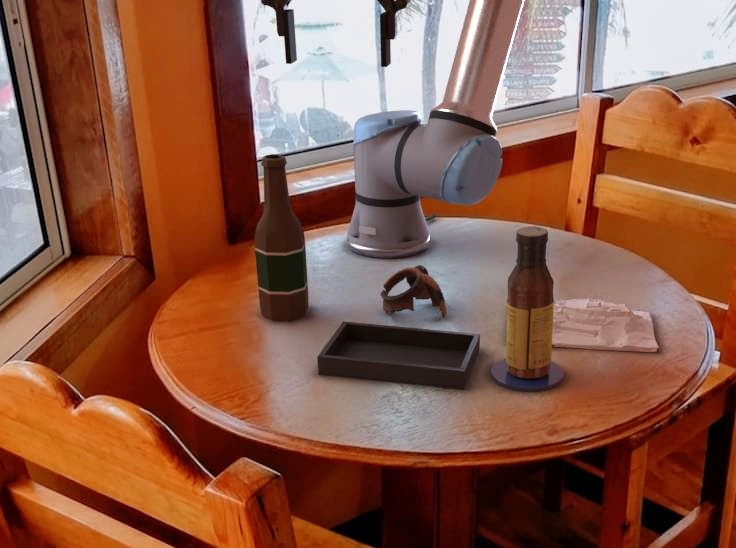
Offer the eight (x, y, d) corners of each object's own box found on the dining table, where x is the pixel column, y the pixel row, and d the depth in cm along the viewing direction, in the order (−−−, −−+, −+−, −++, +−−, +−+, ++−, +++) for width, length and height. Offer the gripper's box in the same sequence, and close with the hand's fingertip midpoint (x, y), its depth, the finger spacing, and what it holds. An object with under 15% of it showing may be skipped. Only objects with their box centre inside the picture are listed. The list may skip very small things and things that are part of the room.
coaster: (496, 356, 141) (496, 353, 141) (566, 363, 139) (566, 359, 139) (485, 387, 133) (485, 383, 133) (558, 395, 131) (559, 391, 131)
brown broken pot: (450, 329, 150) (425, 289, 145) (396, 349, 154) (370, 310, 149) (454, 282, 158) (430, 242, 153) (402, 302, 162) (378, 264, 157)
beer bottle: (250, 317, 153) (235, 159, 140) (277, 300, 159) (265, 147, 145) (293, 326, 150) (282, 166, 137) (319, 308, 156) (310, 153, 143)
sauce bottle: (551, 363, 138) (563, 224, 127) (548, 383, 133) (560, 239, 122) (505, 360, 139) (513, 221, 128) (500, 379, 134) (508, 236, 123)
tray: (343, 338, 146) (342, 321, 145) (479, 351, 143) (480, 333, 141) (318, 374, 136) (317, 356, 135) (463, 389, 132) (464, 371, 131)
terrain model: (501, 315, 157) (501, 284, 154) (645, 309, 156) (647, 278, 154) (509, 358, 143) (509, 325, 140) (667, 352, 142) (671, 319, 140)
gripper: (226, -116, 123) (244, 65, 135) (420, -115, 119) (420, 71, 131) (246, -118, 130) (261, 55, 141) (431, -118, 125) (431, 61, 137)
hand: (338, 63), depth 136 cm, fingers open, 13 cm apart
